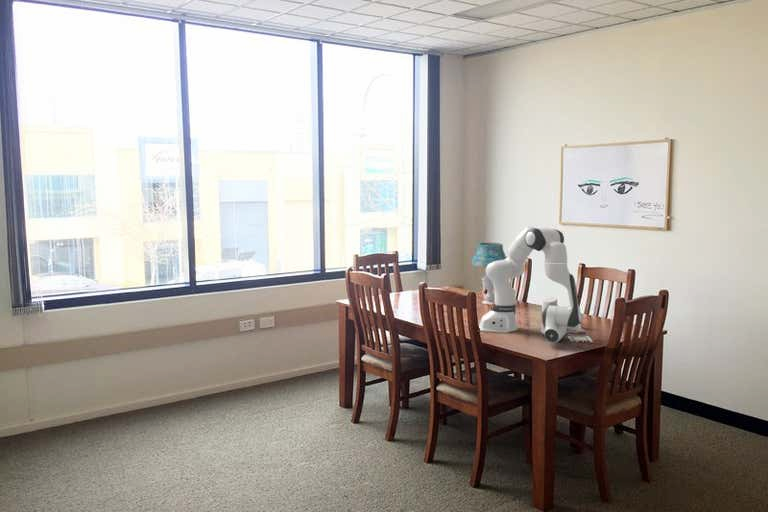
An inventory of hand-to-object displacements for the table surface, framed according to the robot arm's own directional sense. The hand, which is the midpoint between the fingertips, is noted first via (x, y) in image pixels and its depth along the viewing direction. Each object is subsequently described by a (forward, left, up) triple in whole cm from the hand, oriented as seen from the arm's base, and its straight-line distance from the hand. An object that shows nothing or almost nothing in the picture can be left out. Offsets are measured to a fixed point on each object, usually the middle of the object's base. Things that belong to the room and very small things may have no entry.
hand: (563, 323), depth 340 cm
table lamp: (-33, +80, -7) cm, 87 cm away
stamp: (0, -1, -7) cm, 7 cm away
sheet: (+7, -9, -7) cm, 13 cm away
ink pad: (+8, +5, -7) cm, 12 cm away
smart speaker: (-2, +31, -7) cm, 32 cm away
